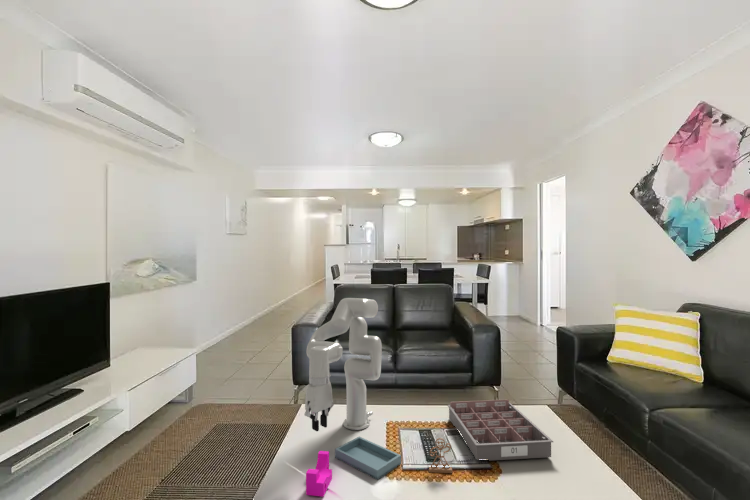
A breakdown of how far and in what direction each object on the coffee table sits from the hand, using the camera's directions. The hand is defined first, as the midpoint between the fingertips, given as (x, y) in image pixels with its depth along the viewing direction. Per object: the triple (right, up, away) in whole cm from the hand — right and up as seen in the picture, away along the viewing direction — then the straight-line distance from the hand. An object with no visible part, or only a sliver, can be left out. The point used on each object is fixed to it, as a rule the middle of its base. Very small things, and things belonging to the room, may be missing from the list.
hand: (319, 427), depth 145 cm
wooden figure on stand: (+46, -17, +2) cm, 49 cm away
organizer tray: (+74, -17, +26) cm, 81 cm away
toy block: (+2, -17, -6) cm, 18 cm away
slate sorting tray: (+18, -17, +8) cm, 26 cm away
